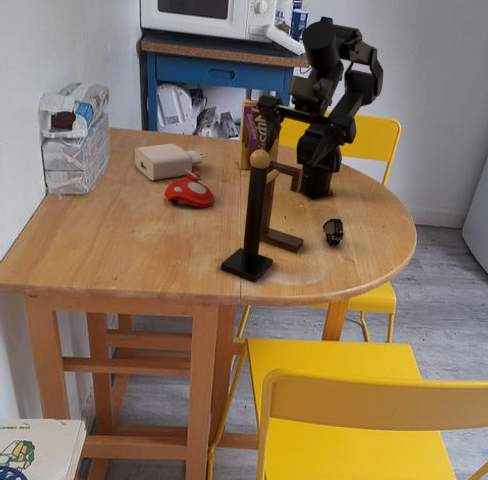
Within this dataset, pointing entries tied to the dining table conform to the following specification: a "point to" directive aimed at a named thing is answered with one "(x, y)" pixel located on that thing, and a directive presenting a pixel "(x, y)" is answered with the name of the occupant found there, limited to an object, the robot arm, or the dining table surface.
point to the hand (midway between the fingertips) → (288, 158)
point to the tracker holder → (190, 191)
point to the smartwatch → (333, 231)
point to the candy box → (253, 134)
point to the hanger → (268, 233)
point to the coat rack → (253, 223)
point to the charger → (165, 161)
